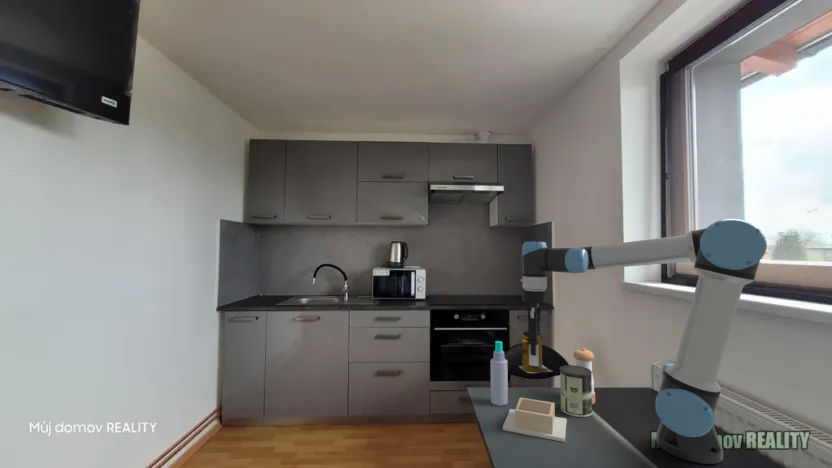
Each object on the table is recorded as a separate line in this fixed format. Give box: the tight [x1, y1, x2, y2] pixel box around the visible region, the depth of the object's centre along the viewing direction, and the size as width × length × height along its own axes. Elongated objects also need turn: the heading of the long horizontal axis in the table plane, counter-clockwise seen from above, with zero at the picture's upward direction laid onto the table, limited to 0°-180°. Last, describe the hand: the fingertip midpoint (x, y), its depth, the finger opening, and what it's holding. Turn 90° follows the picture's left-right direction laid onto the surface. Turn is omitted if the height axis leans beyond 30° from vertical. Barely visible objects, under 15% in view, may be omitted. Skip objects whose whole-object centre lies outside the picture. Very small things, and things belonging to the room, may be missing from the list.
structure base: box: [502, 397, 567, 443], centre depth 119 cm, size 18×14×6 cm
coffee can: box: [559, 364, 593, 418], centre depth 131 cm, size 10×10×14 cm
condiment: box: [518, 329, 553, 374], centre depth 120 cm, size 7×8×12 cm
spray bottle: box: [490, 340, 509, 407], centre depth 137 cm, size 6×6×22 cm
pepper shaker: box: [573, 347, 596, 405], centre depth 139 cm, size 7×7×19 cm
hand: (534, 362), depth 120 cm, fingers closed on condiment, 6 cm apart
